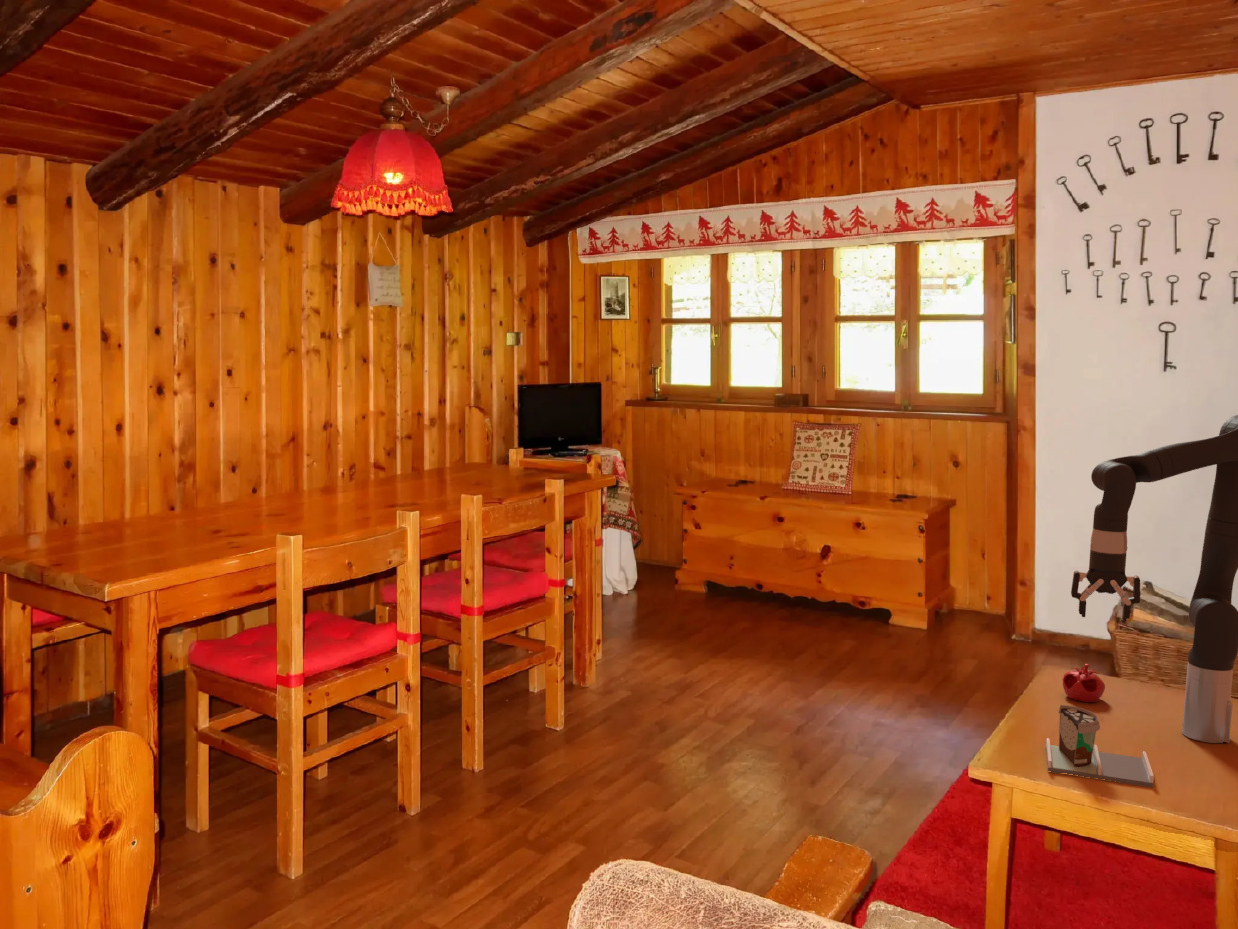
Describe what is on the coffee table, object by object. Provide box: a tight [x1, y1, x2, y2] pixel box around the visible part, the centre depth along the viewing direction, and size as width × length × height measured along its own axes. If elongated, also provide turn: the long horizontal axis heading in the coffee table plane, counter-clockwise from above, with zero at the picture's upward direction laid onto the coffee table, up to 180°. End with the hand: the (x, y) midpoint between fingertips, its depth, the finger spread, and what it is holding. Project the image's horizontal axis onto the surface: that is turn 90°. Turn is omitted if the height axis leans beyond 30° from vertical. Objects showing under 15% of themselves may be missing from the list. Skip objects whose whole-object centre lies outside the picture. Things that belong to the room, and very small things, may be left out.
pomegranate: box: [1062, 663, 1106, 703], centre depth 266 cm, size 10×10×9 cm
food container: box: [1058, 704, 1101, 767], centre depth 223 cm, size 12×6×10 cm, turn 176°
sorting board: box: [1045, 737, 1155, 788], centre depth 222 cm, size 20×14×2 cm
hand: (1103, 618), depth 237 cm, fingers open, 8 cm apart
